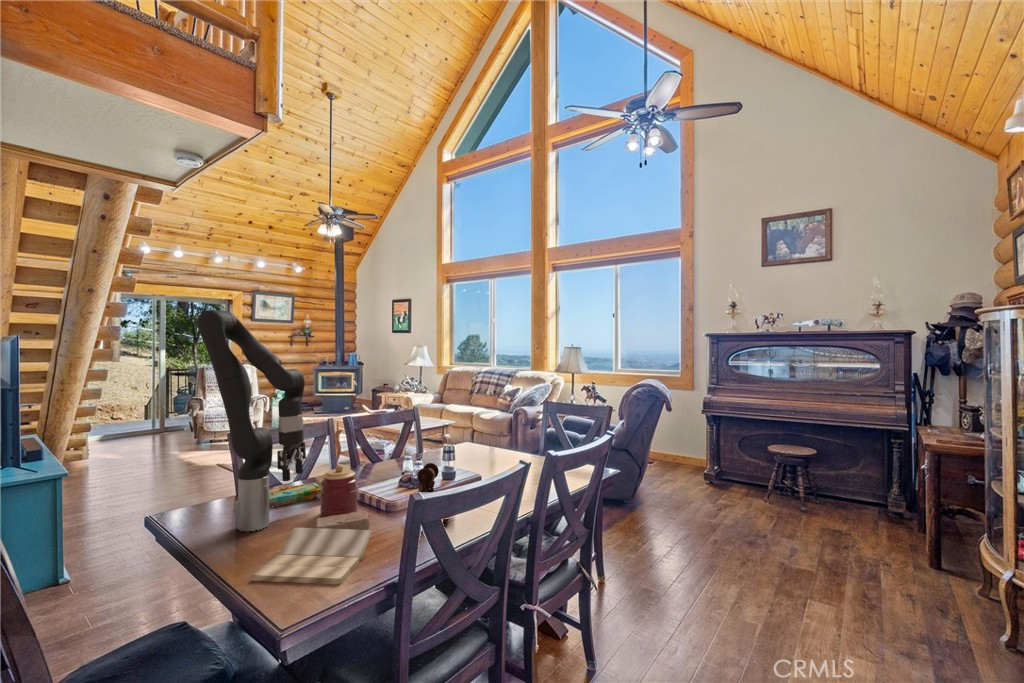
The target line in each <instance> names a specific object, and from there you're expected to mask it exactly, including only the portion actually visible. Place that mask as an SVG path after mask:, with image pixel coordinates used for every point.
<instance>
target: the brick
mask: <svg viewBox="0 0 1024 683" xmlns="http://www.w3.org/2000/svg"><path fill="white" fill-rule="evenodd" d="M315 528H323V529H354V530H369V528H370V518H369V513H367V511H366V510H357V512H352V513H349V514H343V515H334V516H327V517H318V518H317V519H316V522H315Z"/></svg>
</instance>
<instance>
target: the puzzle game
mask: <svg viewBox="0 0 1024 683" xmlns="http://www.w3.org/2000/svg"><path fill="white" fill-rule="evenodd" d="M321 490H322V486H321V485H320V484H319V485H318V483H316V482H309V483H304V484H298V485H292V486H286V487H285V486H282V487H280V488H275V489H274V488H273V489H269V507H270V508H271V507H272V506H277V505H282V506H284V505H283V504H287V505H290V504H289V503H292V504H295V502H297V503H301V501H302V502H306V500H307V501H310V500H311V499H312V500H314V498H315V496H316V495H317V496H318V495H321V493H320V491H321ZM277 507H278V506H277ZM272 508H273V507H272Z"/></svg>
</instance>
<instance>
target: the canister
mask: <svg viewBox="0 0 1024 683" xmlns="http://www.w3.org/2000/svg"><path fill="white" fill-rule="evenodd" d="M355 475H356V471H354V470H352V469H351V468H345V467H343V465H342V464H338V465H336V466H335V468H334V469H330V470H327V472H326V473H324V474H323V475H322V478H323V479H322V480H321V481H320V482H319V485H320V486H321V488H322V490H321V491H320V493H321V494H320V508H319V511H320V516H321V518H323V517H327V516H334V515H343V514H349V513H352V512H358V508H359V506H358V505H359V502H358V489H359V488H358V486H357V483H358V481H359V479H358V477H356V476H355Z"/></svg>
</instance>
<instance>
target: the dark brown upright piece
mask: <svg viewBox="0 0 1024 683" xmlns="http://www.w3.org/2000/svg"><path fill="white" fill-rule="evenodd" d="M438 475H439V468H438V465H436V464H435V463H432V462H429V463H426V464H424V466H423V468H420V469H419V471H417V474H416V476H417V477H416V478H417V480H418V491H417V493H418V492H433V491H436V490H434V488H435V485H436V481H435V478H437V477H438ZM449 521H450V518H449V519H443V523H444V524H446V523H448V522H449Z"/></svg>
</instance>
